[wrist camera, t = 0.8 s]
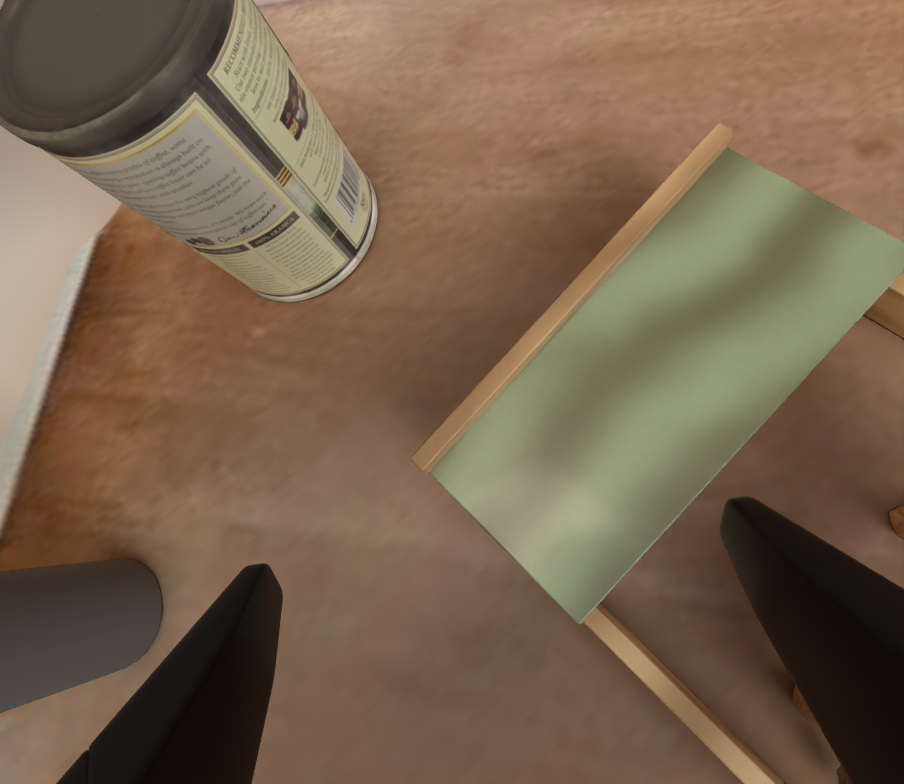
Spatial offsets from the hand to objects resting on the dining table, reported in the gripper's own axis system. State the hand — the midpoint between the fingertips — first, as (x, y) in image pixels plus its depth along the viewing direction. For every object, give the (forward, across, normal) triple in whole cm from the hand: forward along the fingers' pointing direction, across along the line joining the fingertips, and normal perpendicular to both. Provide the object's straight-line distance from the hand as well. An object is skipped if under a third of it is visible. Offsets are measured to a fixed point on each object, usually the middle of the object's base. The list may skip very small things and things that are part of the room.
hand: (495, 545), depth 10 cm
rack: (+9, -11, +8) cm, 17 cm away
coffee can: (+25, +9, -1) cm, 27 cm away
